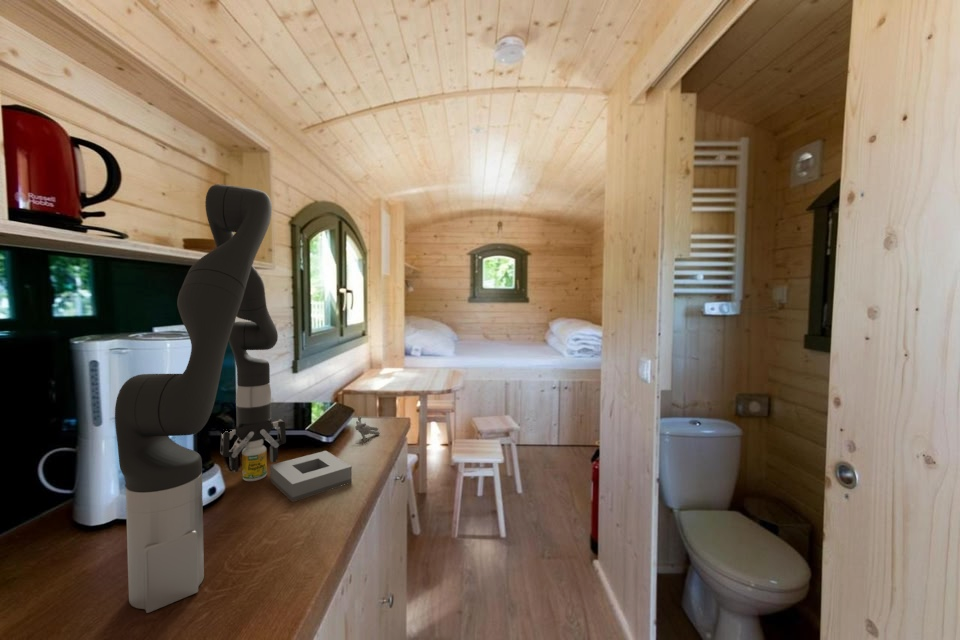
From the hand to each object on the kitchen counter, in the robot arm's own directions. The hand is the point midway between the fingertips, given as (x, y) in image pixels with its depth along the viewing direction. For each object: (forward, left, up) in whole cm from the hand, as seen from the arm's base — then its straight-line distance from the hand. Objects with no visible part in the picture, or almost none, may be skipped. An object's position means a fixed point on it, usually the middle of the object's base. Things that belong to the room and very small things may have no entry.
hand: (254, 466), depth 102 cm
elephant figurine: (+8, -35, -3) cm, 36 cm away
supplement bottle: (0, 0, -3) cm, 3 cm away
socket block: (-12, -9, -3) cm, 15 cm away
